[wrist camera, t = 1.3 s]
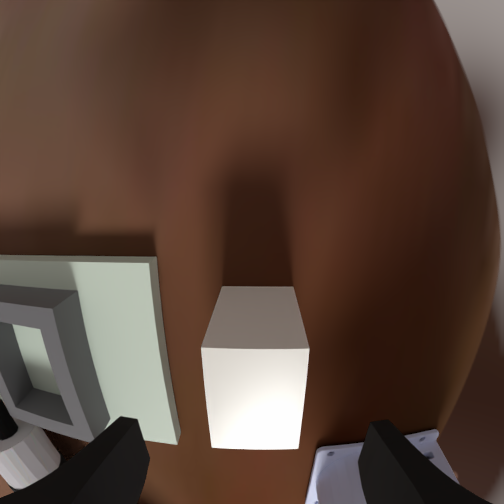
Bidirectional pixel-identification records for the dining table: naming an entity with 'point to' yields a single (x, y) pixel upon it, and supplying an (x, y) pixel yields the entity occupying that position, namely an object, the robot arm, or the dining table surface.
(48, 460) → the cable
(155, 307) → the board
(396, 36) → the dining table surface
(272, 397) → the plug
